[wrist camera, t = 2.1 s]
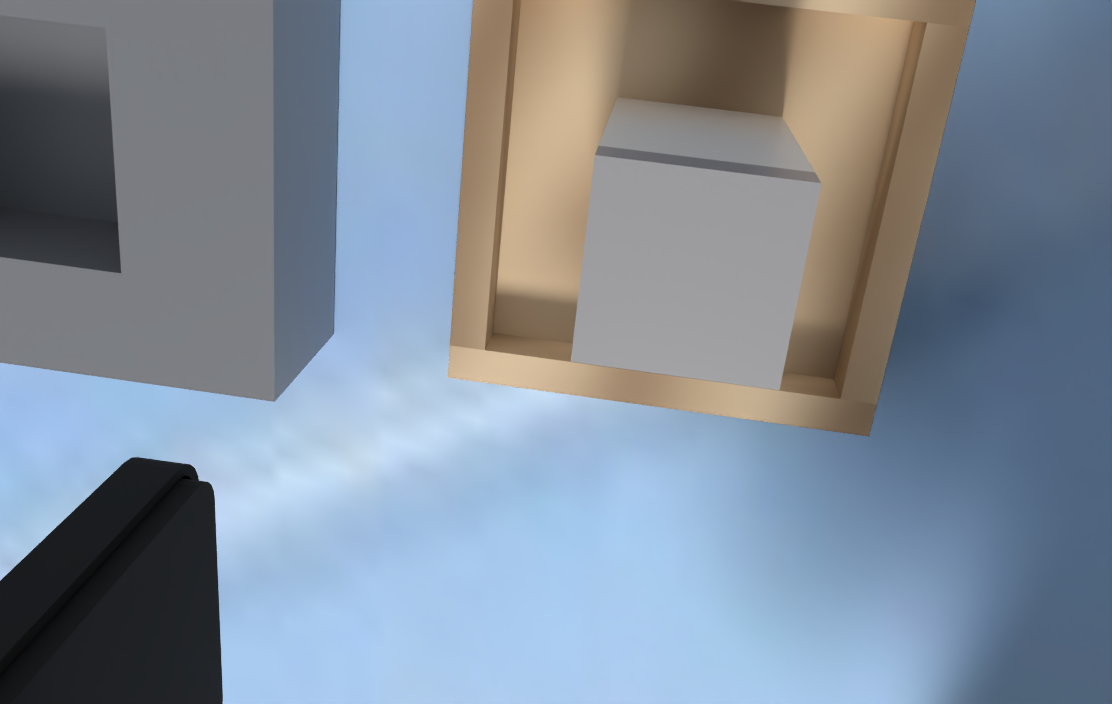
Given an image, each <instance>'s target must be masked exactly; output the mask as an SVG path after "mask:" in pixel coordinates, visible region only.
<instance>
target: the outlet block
mask: <svg viewBox="0 0 1112 704" xmlns="http://www.w3.org/2000/svg"><path fill="white" fill-rule="evenodd" d="M339 44H340V0H0V363H7V364H14V365H22V366H29V367H36V368H43V369H50V370H57V371H64V372H71V373H78V374H85V375H92V376H99V377H106V378H113V379H120V380H127V381H134V382H141V383H148V384H155V385H162V386H169V387H176V388H183V389H190V390H197V391H204V392H211V393H218V394H225V395H232V396H239V397H246V398H253V399H260V400H267V401H274V402H275V401H276V399H277V398H278V397H279V396H280V395H281V394H282V393H283V391H284V390H285V389H286V388H287V387H288V386H289V385H290V383H291V382H292V381H293V380H294V379H295V378H296V377H297V375H298V374H299V373H300V372H301V371H302V370H303V369H304V367H305V366H306V365H307V364H308V363H309V362H310V361H311V359H312V358H313V357H314V356H315V355H316V354H317V353H318V351H319V350H320V349H321V348H322V347H323V346H324V345H325V343H326V342H327V341H328V340H329V339H330V338H331V337H332V335H333V334H334V292H335V242H336V193H337V143H338V93H339Z"/></svg>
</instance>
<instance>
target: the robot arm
mask: <svg viewBox="0 0 1112 704" xmlns="http://www.w3.org/2000/svg"><path fill="white" fill-rule="evenodd" d="M222 701H223V693H222V668H221V644H220V620H219V595H218V571H217V547H216V522H215V498H214V490H213V488H212V485H211V484H210V483H208V482H204V481H199V479H198V475H197V472H196V470H195V468H194V467H193V466H191V465H189V464H182V463H175V462H168V461H160V460H153V459H146V458H139V457H136V458H130V459H129V460H127V461H126V462H124V463H123V464H122V465H121V466H120V467H119V468H118V469H117V470H116V471H115V472H114V473H113V474H112V475H111V476H110V477H109V478H108V479H107V480H106V481H105V482H103V483H102V484H101V485H100V486H99V487H98V488H97V489H96V490H95V491H94V492H93V493H92V494H91V495H90V496H89V497H88V498H87V499H86V500H85V501H84V502H83V503H81V504H80V505H79V506H78V507H77V508H76V509H75V510H74V511H73V512H72V513H71V514H70V515H69V516H68V517H67V518H66V519H65V520H64V521H63V522H62V523H60V524H59V525H58V526H57V527H56V528H55V529H54V530H53V531H52V532H51V533H50V534H49V535H48V536H47V537H46V538H45V539H44V540H43V541H42V542H41V543H40V544H38V545H37V546H36V547H35V548H34V549H33V550H32V551H31V552H30V553H29V554H28V555H27V556H26V557H25V558H24V559H23V560H22V561H21V562H20V563H19V564H17V565H16V566H15V567H14V568H13V569H12V570H11V571H10V572H9V573H8V574H7V575H6V576H5V577H4V578H3V579H2V580H1V581H0V704H222Z"/></svg>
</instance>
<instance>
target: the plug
mask: <svg viewBox="0 0 1112 704" xmlns="http://www.w3.org/2000/svg"><path fill="white" fill-rule="evenodd" d="M821 184H822V183H821V181H820V180H819V178H818V176H817V175H816V173H815V171H814V169H813V168H812V166H811V164H810V163H809V161H808V159H807V158H806V156H805V154H804V152H803V151H802V149H801V147H800V146H799V144H798V142H797V141H796V139H795V137H794V135H793V134H792V132H791V130H790V129H789V127H788V125H787V124H786V122H785V120H784V118H783V117H779V116H771V115H762V114H754V113H746V112H737V111H729V110H721V109H712V108H704V107H696V106H688V105H679V104H671V103H663V102H654V101H646V100H638V99H629V98H621V97H617V99H616V102H615V104H614V107H613V109H612V112H611V115H610V117H609V120H608V122H607V125H606V127H605V130H604V133H603V135H602V138H601V140H600V143H599V145H598V148H597V151H596V153H595V157H594V166H593V174H592V183H591V191H590V200H589V209H588V217H587V226H586V234H585V243H584V251H583V260H582V269H581V277H580V286H579V294H578V303H577V311H576V320H575V329H574V337H573V346H572V354H571V362H577V363H584V364H592V365H599V366H606V367H613V368H621V369H628V370H635V371H643V372H650V373H657V374H664V375H672V376H679V377H686V378H693V379H701V380H708V381H715V382H723V383H730V384H737V385H744V386H752V387H759V388H766V389H773V390H780V385H781V380H782V375H783V370H784V365H785V360H786V355H787V351H788V346H789V341H790V336H791V331H792V326H793V321H794V316H795V311H796V306H797V301H798V297H799V292H800V287H801V282H802V277H803V272H804V267H805V262H806V257H807V252H808V248H809V243H810V238H811V233H812V228H813V223H814V218H815V213H816V208H817V203H818V198H819V194H820V189H821Z"/></svg>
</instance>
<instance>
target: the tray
mask: <svg viewBox="0 0 1112 704" xmlns="http://www.w3.org/2000/svg"><path fill="white" fill-rule="evenodd" d="M975 3H976V0H473V11H472V26H471V40H470V55H469V70H468V85H467V100H466V115H465V130H464V145H463V159H462V174H461V189H460V204H459V219H458V234H457V249H456V264H455V279H454V293H453V308H452V323H451V338H450V353H449V368H448V378H455V379H462V380H469V381H476V382H484V383H491V384H498V385H505V386H512V387H519V388H527V389H534V390H541V391H548V392H555V393H562V394H569V395H577V396H584V397H591V398H598V399H605V400H612V401H620V402H627V403H634V404H641V405H648V406H655V407H663V408H670V409H677V410H684V411H691V412H698V413H706V414H713V415H720V416H727V417H734V418H741V419H749V420H756V421H763V422H770V423H777V424H784V425H792V426H799V427H806V428H813V429H820V430H827V431H835V432H842V433H849V434H856V435H863V436H869V435H870V431H871V427H872V422H873V418H874V414H875V410H876V406H877V402H878V398H879V394H880V390H881V386H882V382H883V378H884V374H885V370H886V365H887V361H888V357H889V353H890V349H891V345H892V341H893V337H894V333H895V329H896V325H897V321H898V317H899V312H900V308H901V304H902V300H903V296H904V292H905V288H906V284H907V280H908V276H909V272H910V268H911V264H912V260H913V255H914V251H915V247H916V243H917V239H918V235H919V231H920V227H921V223H922V219H923V215H924V211H925V207H926V203H927V198H928V194H929V190H930V186H931V182H932V178H933V174H934V170H935V166H936V162H937V158H938V154H939V150H940V145H941V141H942V137H943V133H944V129H945V125H946V121H947V117H948V113H949V109H950V105H951V101H952V97H953V93H954V88H955V84H956V80H957V76H958V72H959V68H960V64H961V60H962V56H963V52H964V48H965V44H966V40H967V35H968V31H969V27H970V23H971V19H972V15H973V11H974V7H975ZM617 97H621V98H629V99H638V100H646V101H654V102H663V103H671V104H679V105H688V106H696V107H704V108H712V109H721V110H729V111H737V112H746V113H754V114H762V115H771V116H779V117H783V118H784V120H785V122H786V124H787V125H788V127H789V129H790V130H791V132H792V134H793V135H794V137H795V139H796V141H797V142H798V144H799V146H800V147H801V149H802V151H803V152H804V154H805V156H806V158H807V159H808V161H809V163H810V164H811V166H812V168H813V169H814V171H815V173H816V175H817V176H818V178H819V180H820V181H821V183H822V184H821V189H820V194H819V198H818V203H817V208H816V213H815V218H814V223H813V228H812V233H811V238H810V243H809V248H808V252H807V257H806V262H805V267H804V272H803V277H802V282H801V287H800V292H799V297H798V301H797V306H796V311H795V316H794V321H793V326H792V331H791V336H790V341H789V346H788V351H787V355H786V360H785V365H784V370H783V375H782V380H781V385H780V390H773V389H766V388H759V387H752V386H744V385H737V384H730V383H723V382H715V381H708V380H701V379H693V378H686V377H679V376H672V375H664V374H657V373H650V372H643V371H635V370H628V369H621V368H613V367H606V366H599V365H592V364H584V363H577V362H571V354H572V346H573V337H574V329H575V320H576V311H577V303H578V294H579V286H580V277H581V269H582V260H583V251H584V243H585V234H586V226H587V217H588V209H589V200H590V191H591V183H592V174H593V166H594V157H595V153H596V151H597V148H598V145H599V143H600V140H601V138H602V135H603V133H604V130H605V127H606V125H607V122H608V120H609V117H610V115H611V112H612V109H613V107H614V104H615V102H616V99H617Z"/></svg>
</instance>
